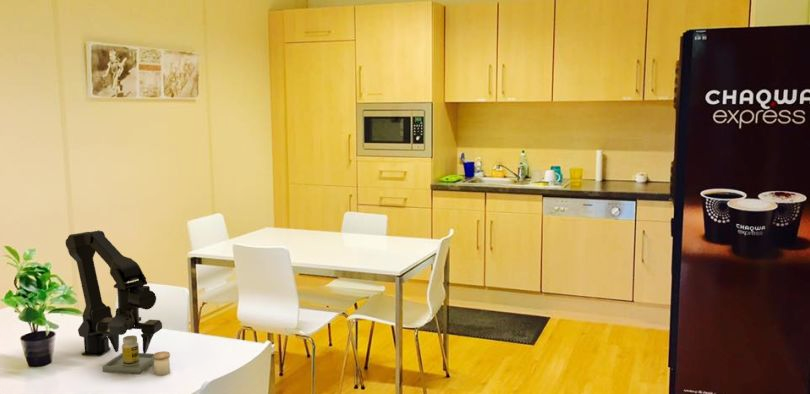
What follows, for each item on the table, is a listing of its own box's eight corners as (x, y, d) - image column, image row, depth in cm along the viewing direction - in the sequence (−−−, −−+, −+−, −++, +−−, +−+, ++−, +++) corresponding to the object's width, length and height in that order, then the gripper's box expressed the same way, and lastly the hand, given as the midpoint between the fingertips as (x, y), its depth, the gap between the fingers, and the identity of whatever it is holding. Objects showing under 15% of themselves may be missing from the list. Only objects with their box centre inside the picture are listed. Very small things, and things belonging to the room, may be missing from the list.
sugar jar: (150, 375, 211) (150, 356, 210) (158, 369, 215) (157, 351, 214) (166, 376, 210) (165, 357, 209) (173, 370, 215) (172, 351, 214)
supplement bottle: (133, 367, 215) (132, 340, 214) (119, 365, 216) (118, 339, 215) (142, 361, 220) (141, 335, 219) (128, 360, 221) (127, 334, 220)
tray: (102, 371, 213) (102, 366, 213) (123, 357, 225) (123, 351, 224) (140, 374, 211) (139, 368, 211) (159, 359, 223) (158, 353, 223)
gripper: (84, 310, 209) (87, 360, 211) (144, 312, 206) (146, 363, 208) (105, 299, 219) (107, 347, 222) (161, 301, 217) (164, 350, 219)
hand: (130, 352), depth 217 cm, fingers open, 9 cm apart
